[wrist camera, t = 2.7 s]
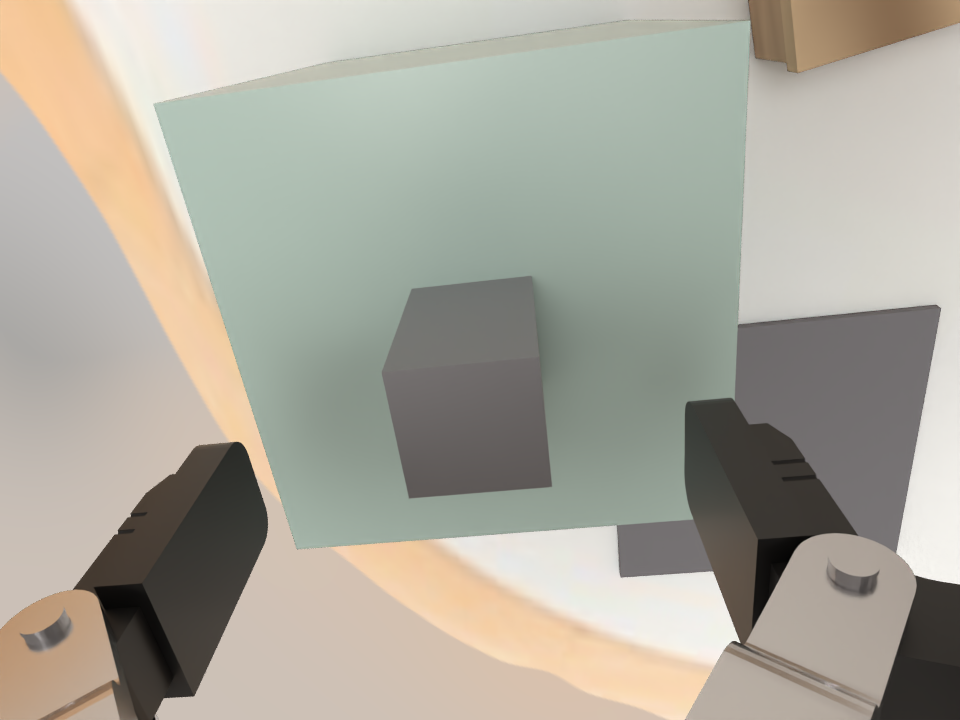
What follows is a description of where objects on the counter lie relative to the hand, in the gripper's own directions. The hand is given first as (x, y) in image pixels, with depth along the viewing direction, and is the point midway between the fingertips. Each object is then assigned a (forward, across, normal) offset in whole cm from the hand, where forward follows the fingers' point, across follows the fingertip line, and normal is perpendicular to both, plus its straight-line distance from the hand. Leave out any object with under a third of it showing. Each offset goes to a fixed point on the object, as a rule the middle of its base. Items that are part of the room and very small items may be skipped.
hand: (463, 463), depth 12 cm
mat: (+22, -13, +16) cm, 30 cm away
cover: (+22, 0, 0) cm, 22 cm away
